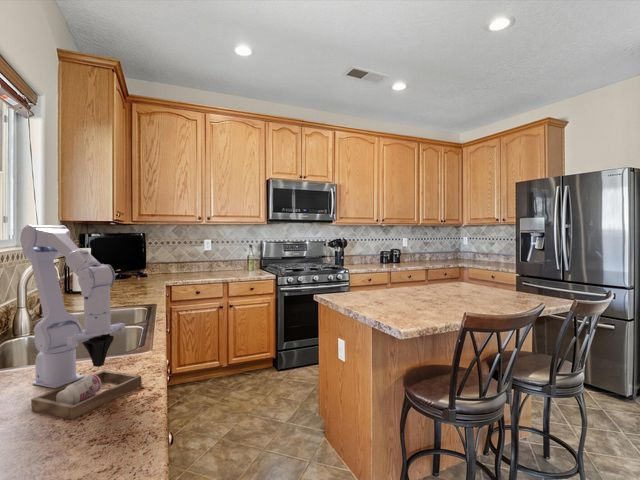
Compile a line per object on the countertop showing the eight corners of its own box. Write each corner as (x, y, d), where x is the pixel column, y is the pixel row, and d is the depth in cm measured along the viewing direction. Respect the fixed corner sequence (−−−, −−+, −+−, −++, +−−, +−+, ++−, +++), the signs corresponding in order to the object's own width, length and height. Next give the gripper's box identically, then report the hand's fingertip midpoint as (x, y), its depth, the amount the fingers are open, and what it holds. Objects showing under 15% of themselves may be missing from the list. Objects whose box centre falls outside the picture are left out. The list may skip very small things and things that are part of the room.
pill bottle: (104, 390, 89) (71, 410, 81) (91, 391, 90) (57, 410, 82) (99, 372, 88) (66, 390, 80) (86, 373, 90) (52, 391, 82)
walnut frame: (31, 409, 81) (31, 399, 81) (104, 379, 99) (104, 370, 99) (72, 419, 77) (72, 408, 77) (141, 385, 94) (141, 376, 94)
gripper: (81, 320, 82) (82, 378, 82) (133, 308, 95) (134, 357, 95) (60, 318, 84) (61, 374, 84) (113, 306, 98) (114, 355, 98)
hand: (98, 365), depth 90 cm, fingers closed
